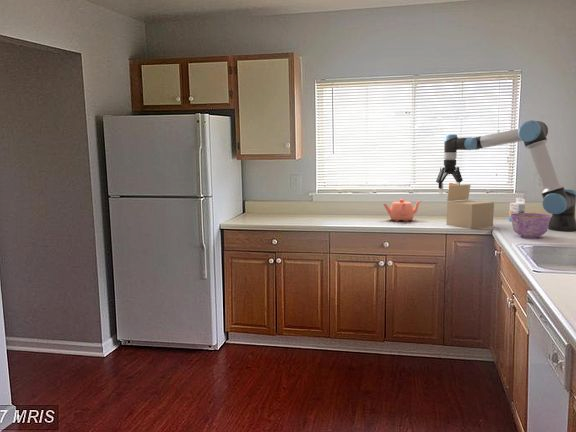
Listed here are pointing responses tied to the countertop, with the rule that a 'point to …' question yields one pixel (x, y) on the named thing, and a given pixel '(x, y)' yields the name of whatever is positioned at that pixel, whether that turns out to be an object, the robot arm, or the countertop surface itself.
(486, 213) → the carton
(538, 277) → the countertop surface
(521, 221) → the purple speckled bowl
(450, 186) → the flap
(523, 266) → the countertop surface
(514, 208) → the ink box
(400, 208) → the teapot
